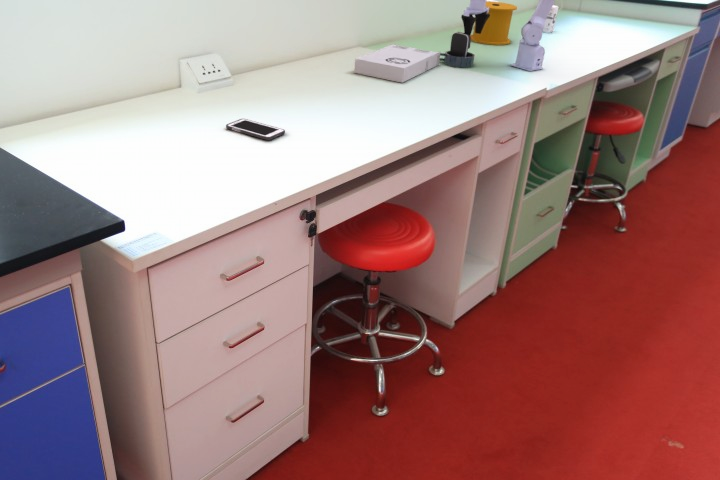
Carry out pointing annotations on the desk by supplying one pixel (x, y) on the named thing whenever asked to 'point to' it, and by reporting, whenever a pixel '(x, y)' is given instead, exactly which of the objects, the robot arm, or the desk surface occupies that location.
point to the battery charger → (460, 44)
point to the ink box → (550, 20)
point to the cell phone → (255, 129)
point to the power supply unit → (396, 63)
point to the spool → (496, 24)
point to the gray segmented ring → (458, 60)
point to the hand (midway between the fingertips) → (472, 34)
